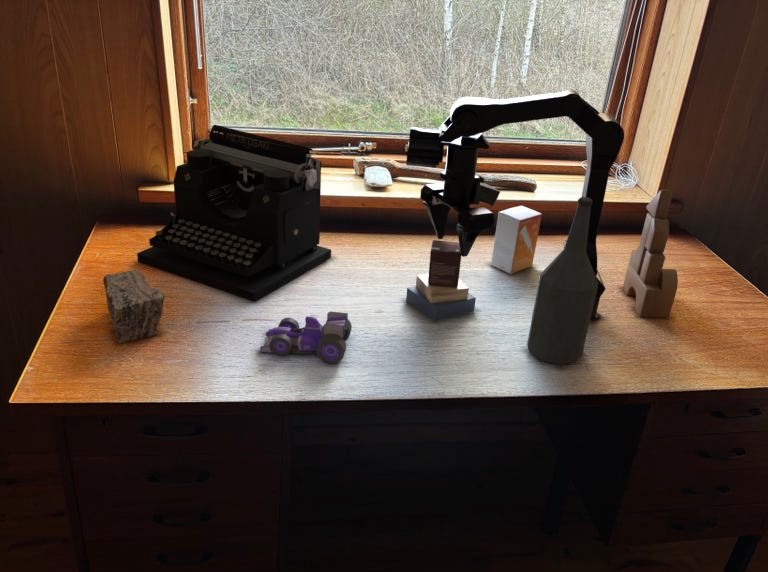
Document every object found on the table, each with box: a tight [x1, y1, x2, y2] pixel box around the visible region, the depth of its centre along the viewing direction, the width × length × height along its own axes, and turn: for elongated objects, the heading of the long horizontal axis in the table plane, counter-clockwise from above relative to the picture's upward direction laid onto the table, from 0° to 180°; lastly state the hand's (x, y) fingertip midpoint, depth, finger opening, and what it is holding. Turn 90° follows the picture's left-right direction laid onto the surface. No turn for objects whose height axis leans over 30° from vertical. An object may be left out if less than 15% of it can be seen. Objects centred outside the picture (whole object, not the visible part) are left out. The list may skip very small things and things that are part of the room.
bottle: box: [526, 196, 599, 367], centre depth 131 cm, size 10×10×30 cm
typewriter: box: [136, 124, 332, 303], centre depth 156 cm, size 31×27×25 cm
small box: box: [490, 205, 543, 275], centre depth 168 cm, size 8×6×13 cm
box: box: [428, 239, 462, 287], centre depth 147 cm, size 6×6×7 cm
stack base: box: [405, 285, 477, 322], centre depth 151 cm, size 10×10×3 cm
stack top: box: [415, 273, 470, 303], centre depth 149 cm, size 8×8×2 cm
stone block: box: [102, 269, 166, 344], centre depth 134 cm, size 14×9×8 cm, turn 29°
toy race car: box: [259, 311, 353, 364], centre depth 132 cm, size 10×15×6 cm, turn 86°
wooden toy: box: [622, 189, 679, 319], centre depth 155 cm, size 16×7×25 cm, turn 2°
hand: (452, 247), depth 146 cm, fingers open, 9 cm apart
